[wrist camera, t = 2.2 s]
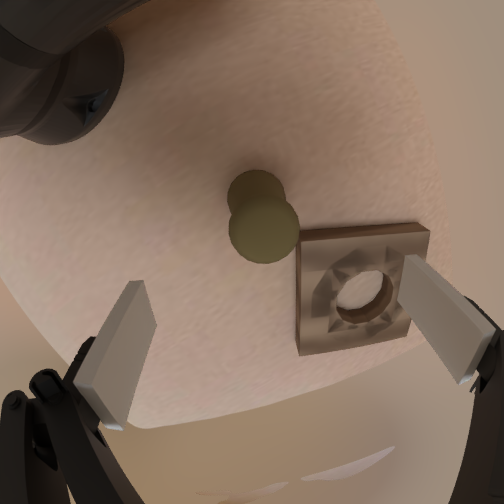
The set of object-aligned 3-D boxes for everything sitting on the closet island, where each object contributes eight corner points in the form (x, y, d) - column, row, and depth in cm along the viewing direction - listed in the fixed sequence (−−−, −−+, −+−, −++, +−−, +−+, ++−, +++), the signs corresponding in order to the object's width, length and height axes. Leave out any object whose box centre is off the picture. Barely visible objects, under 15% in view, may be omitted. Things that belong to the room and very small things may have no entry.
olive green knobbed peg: (223, 173, 28) (215, 199, 18) (283, 167, 28) (308, 189, 18) (230, 228, 31) (227, 280, 21) (286, 223, 31) (310, 271, 21)
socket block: (295, 231, 31) (301, 241, 28) (417, 222, 31) (430, 231, 29) (295, 341, 38) (299, 356, 35) (397, 323, 38) (406, 336, 35)
